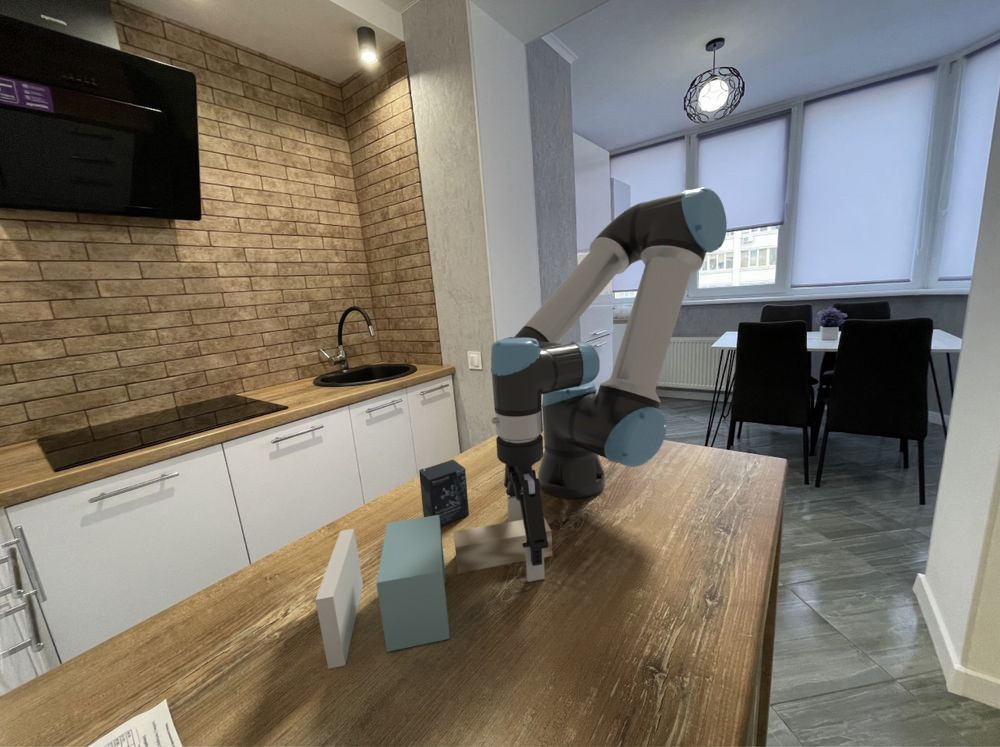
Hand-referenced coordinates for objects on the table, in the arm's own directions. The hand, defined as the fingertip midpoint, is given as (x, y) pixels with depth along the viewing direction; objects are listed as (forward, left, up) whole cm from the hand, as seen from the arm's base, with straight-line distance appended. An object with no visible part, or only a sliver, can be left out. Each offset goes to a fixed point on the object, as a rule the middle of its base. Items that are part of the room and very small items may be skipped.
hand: (525, 551), depth 67 cm
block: (+18, +8, 0) cm, 19 cm away
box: (+13, -15, 0) cm, 20 cm away
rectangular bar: (+4, 0, 0) cm, 4 cm away
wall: (+28, +8, 0) cm, 29 cm away
